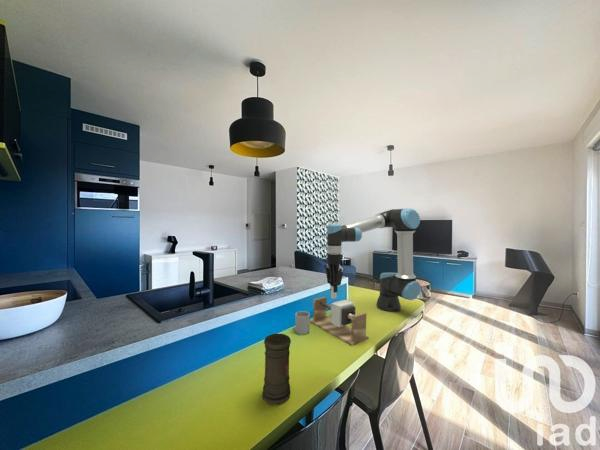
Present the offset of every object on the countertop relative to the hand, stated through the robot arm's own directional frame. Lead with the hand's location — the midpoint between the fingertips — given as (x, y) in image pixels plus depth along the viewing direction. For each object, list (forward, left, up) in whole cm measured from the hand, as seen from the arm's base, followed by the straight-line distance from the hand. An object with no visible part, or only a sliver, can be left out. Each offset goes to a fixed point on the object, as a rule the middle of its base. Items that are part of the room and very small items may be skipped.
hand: (333, 297), depth 128 cm
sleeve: (+1, +7, -11) cm, 13 cm away
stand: (+1, +4, -16) cm, 16 cm away
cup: (+17, -6, -16) cm, 24 cm away
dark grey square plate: (+1, +11, -9) cm, 14 cm away
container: (+50, +26, -16) cm, 59 cm away
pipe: (+1, +4, -7) cm, 8 cm away
